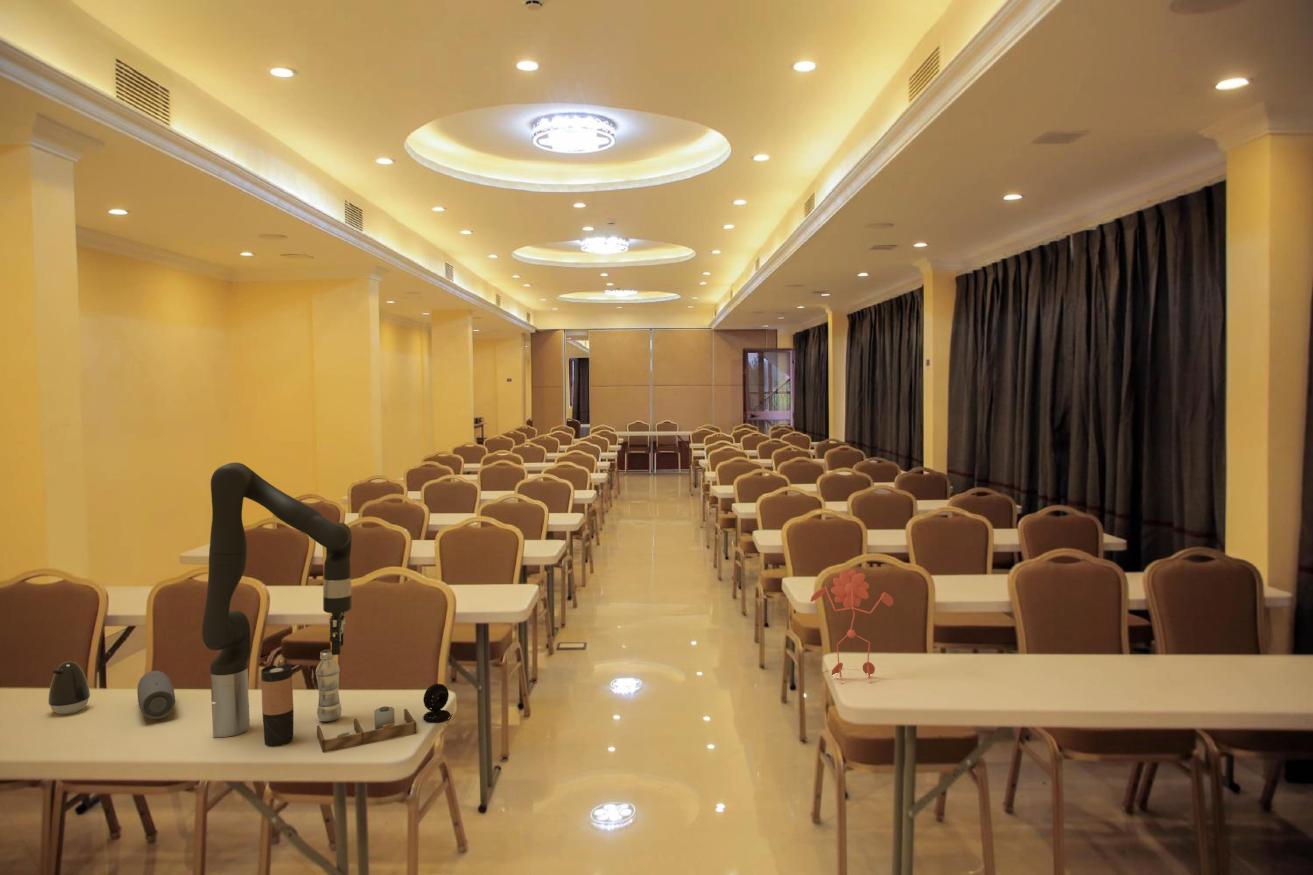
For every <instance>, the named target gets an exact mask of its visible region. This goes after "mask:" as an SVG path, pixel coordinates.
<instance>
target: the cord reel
mask: <svg viewBox="0 0 1313 875" xmlns="http://www.w3.org/2000/svg"><path fill="white" fill-rule="evenodd" d="M373 715H374V730H376V729H381V728H383V725H386V724H392V723H394V724H395V721H396V720H395V708H394V707H392V706H386V705H385V706H380V707H378V708H376V709H375V710H374V714H373ZM395 725H396V724H395Z"/></svg>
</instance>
